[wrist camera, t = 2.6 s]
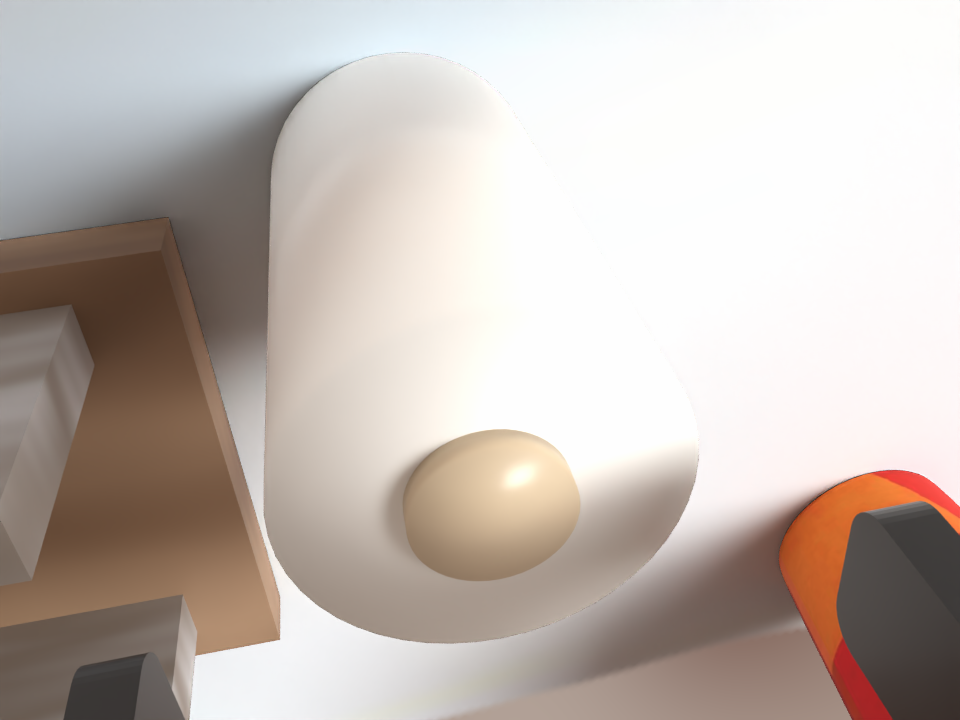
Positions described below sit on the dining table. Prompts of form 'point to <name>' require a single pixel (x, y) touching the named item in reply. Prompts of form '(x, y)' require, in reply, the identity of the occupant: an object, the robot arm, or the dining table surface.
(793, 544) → the paper cup
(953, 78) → the dining table surface
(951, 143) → the dining table surface
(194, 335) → the holder
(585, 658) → the dining table surface
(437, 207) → the roll
